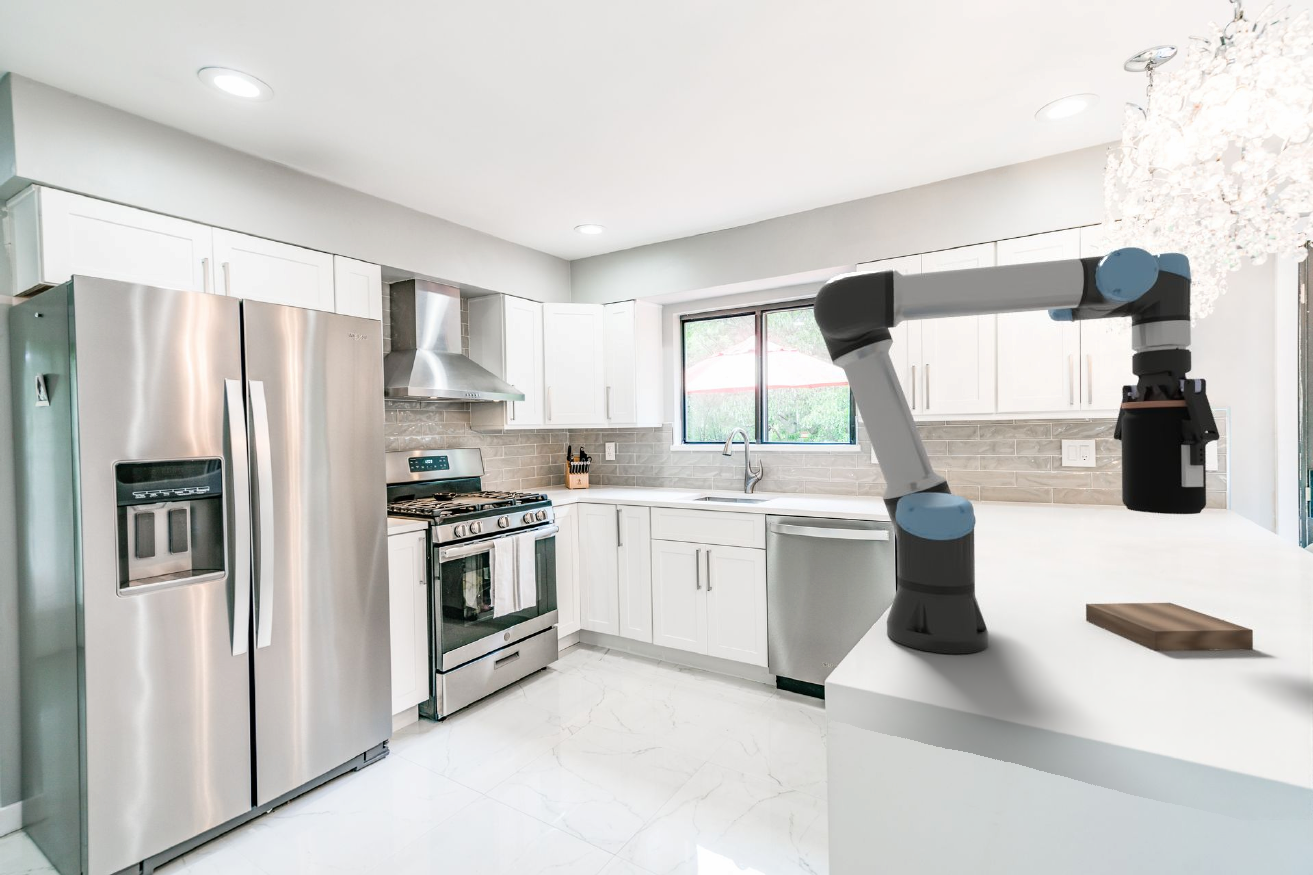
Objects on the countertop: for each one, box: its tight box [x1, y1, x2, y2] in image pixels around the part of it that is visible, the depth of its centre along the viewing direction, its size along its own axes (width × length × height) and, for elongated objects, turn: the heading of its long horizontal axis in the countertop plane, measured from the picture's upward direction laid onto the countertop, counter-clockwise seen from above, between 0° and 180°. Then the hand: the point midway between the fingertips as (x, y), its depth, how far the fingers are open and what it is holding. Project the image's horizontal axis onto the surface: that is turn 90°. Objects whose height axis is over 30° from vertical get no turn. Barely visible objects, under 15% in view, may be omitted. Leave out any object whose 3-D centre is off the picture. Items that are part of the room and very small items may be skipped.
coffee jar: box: [1120, 400, 1207, 515], centre depth 101 cm, size 11×11×18 cm
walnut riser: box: [1085, 602, 1254, 652], centre depth 101 cm, size 15×15×3 cm
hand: (1162, 483), depth 101 cm, fingers closed on coffee jar, 11 cm apart
